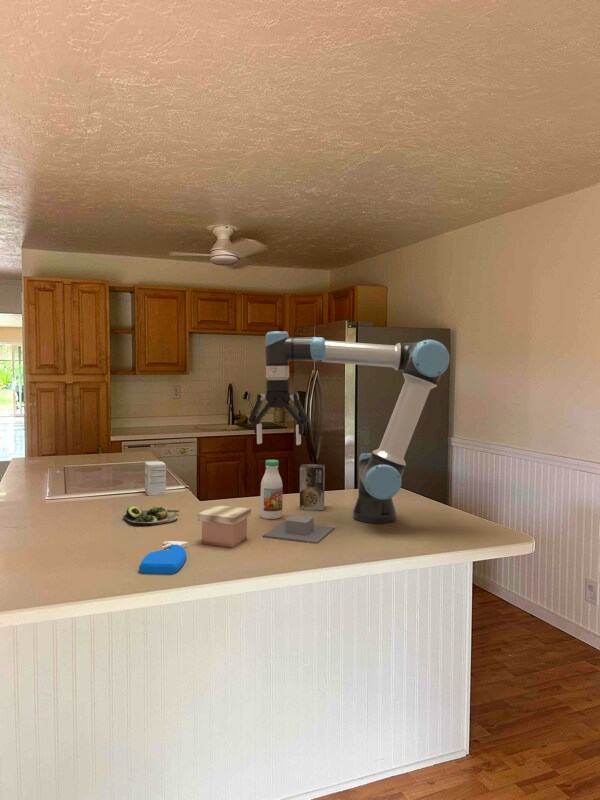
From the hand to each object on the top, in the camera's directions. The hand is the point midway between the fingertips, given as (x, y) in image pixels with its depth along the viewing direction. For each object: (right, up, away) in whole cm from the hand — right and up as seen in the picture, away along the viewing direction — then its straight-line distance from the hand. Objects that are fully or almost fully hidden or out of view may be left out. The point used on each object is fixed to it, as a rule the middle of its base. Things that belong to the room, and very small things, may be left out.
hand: (278, 444), depth 197 cm
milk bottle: (-3, -27, +14) cm, 31 cm away
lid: (-16, -21, -15) cm, 31 cm away
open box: (-16, -28, -15) cm, 36 cm away
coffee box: (+11, -26, +28) cm, 40 cm away
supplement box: (-52, -24, +49) cm, 76 cm away
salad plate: (-45, -27, +8) cm, 53 cm away
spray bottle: (-29, -30, -33) cm, 53 cm away
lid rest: (+7, -28, -5) cm, 29 cm away
